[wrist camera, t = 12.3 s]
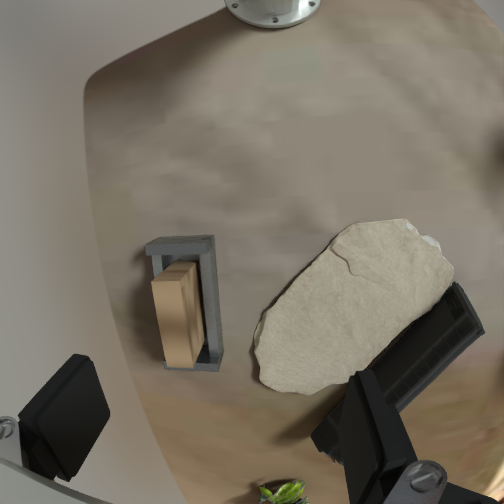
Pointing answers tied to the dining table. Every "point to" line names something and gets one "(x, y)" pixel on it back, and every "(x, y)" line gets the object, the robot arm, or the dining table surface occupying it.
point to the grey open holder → (204, 252)
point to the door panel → (180, 312)
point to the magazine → (413, 360)
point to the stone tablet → (349, 305)
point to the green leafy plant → (285, 494)
